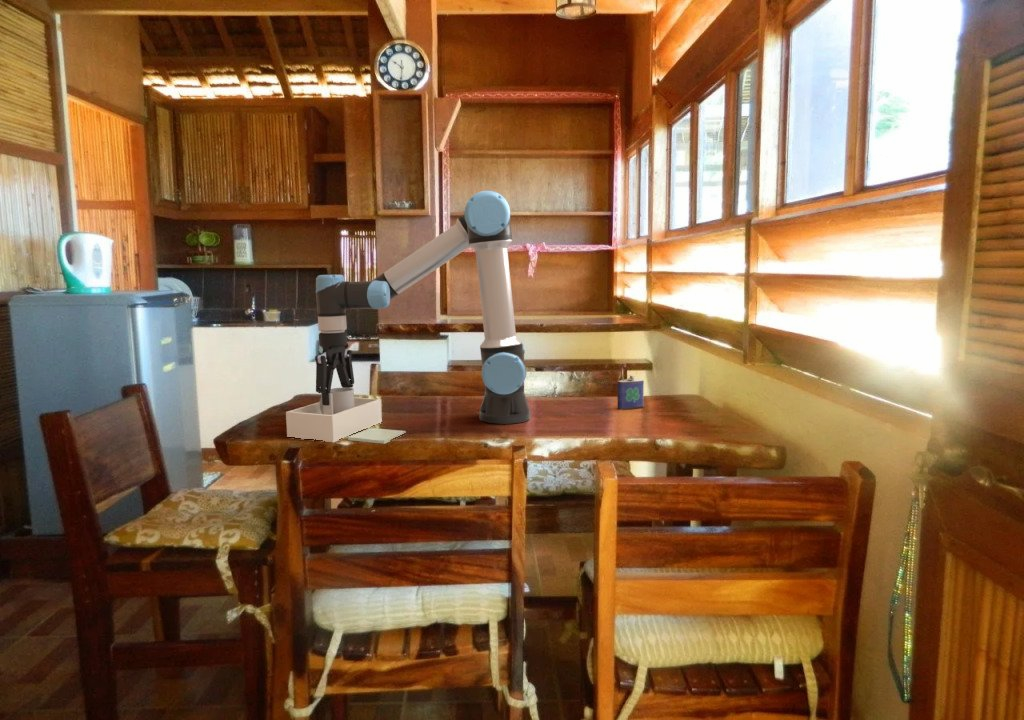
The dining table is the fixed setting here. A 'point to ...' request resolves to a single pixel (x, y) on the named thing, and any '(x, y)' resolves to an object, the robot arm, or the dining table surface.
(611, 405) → the dining table surface
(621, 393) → the flask
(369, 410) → the crate
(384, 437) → the tile
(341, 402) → the cup
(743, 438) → the dining table surface
